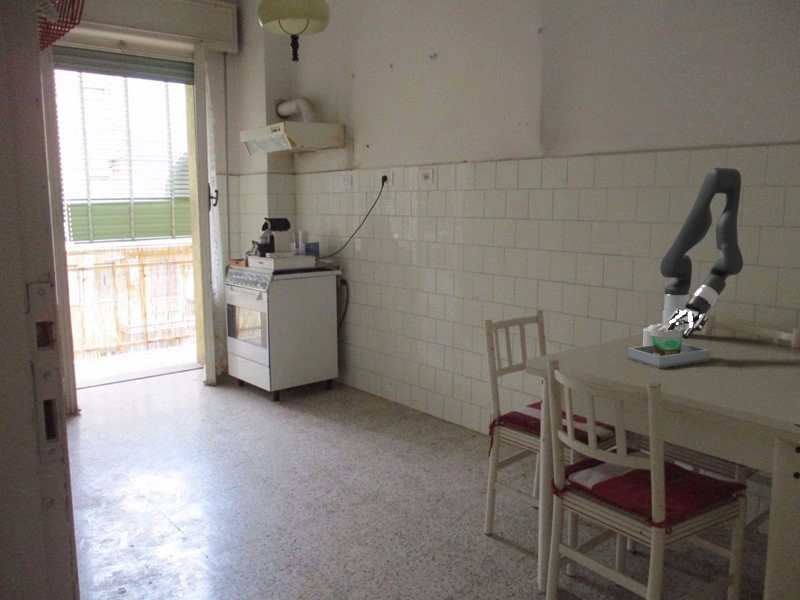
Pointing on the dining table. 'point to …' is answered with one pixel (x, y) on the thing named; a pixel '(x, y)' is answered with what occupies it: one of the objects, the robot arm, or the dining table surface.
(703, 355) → the grey tray
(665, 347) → the food container
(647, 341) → the lumpy-topped squat cylinder
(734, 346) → the dining table surface
